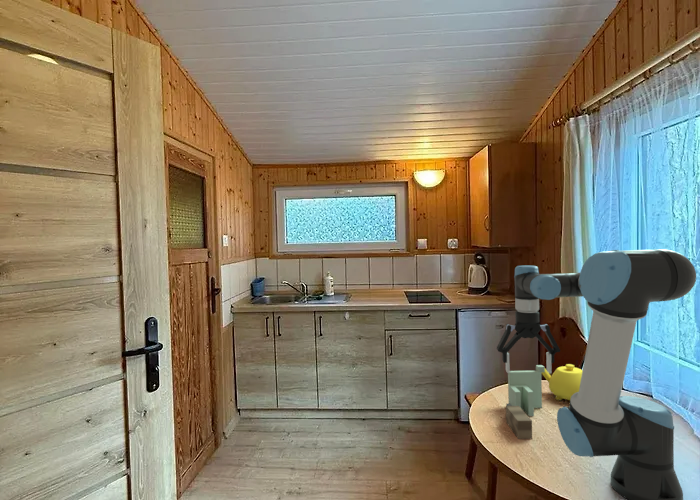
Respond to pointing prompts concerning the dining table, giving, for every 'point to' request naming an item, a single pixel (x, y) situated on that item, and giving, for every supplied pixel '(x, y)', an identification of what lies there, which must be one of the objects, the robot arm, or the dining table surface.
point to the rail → (518, 422)
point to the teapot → (564, 381)
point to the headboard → (526, 389)
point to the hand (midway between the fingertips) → (528, 372)
